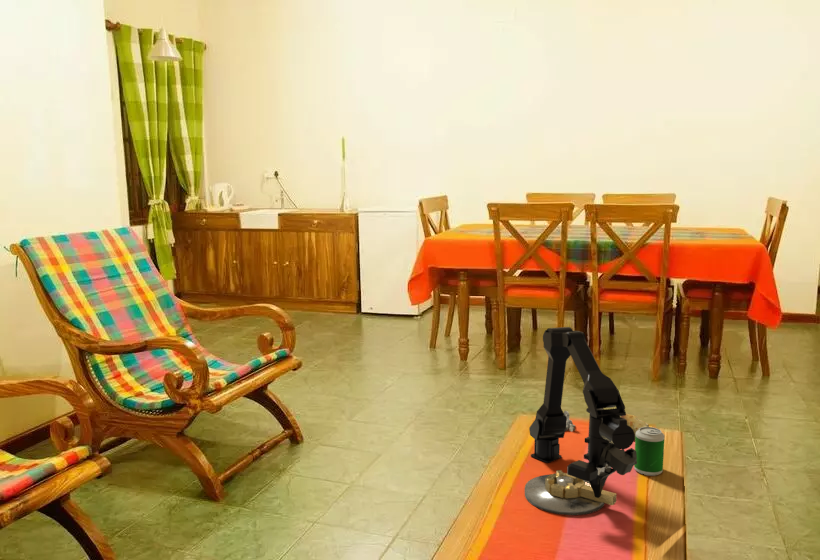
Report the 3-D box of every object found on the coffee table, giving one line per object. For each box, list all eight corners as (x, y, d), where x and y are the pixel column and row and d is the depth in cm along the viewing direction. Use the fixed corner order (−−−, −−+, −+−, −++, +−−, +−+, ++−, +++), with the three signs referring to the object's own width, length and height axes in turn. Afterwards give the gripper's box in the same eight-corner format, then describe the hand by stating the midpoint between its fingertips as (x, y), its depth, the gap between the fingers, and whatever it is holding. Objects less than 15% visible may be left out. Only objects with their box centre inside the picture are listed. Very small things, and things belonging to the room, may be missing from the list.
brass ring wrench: (539, 491, 178) (540, 479, 177) (555, 478, 185) (556, 467, 184) (607, 511, 167) (607, 498, 167) (621, 496, 174) (621, 484, 174)
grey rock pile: (572, 444, 214) (572, 420, 212) (549, 436, 220) (550, 412, 219) (590, 437, 219) (591, 413, 218) (567, 429, 226) (568, 406, 225)
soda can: (664, 479, 188) (666, 436, 187) (635, 477, 190) (637, 434, 188) (660, 468, 196) (662, 426, 194) (632, 465, 197) (634, 424, 195)
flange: (508, 494, 180) (508, 477, 179) (557, 472, 193) (558, 457, 192) (572, 523, 165) (573, 505, 164) (621, 498, 178) (622, 481, 177)
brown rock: (601, 432, 223) (602, 408, 221) (637, 429, 225) (638, 405, 224) (624, 449, 209) (625, 424, 208) (662, 446, 212) (663, 420, 210)
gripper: (609, 453, 158) (605, 519, 159) (651, 435, 170) (647, 497, 172) (567, 440, 166) (564, 503, 167) (610, 424, 178) (607, 483, 180)
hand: (597, 497), depth 172 cm, fingers closed
